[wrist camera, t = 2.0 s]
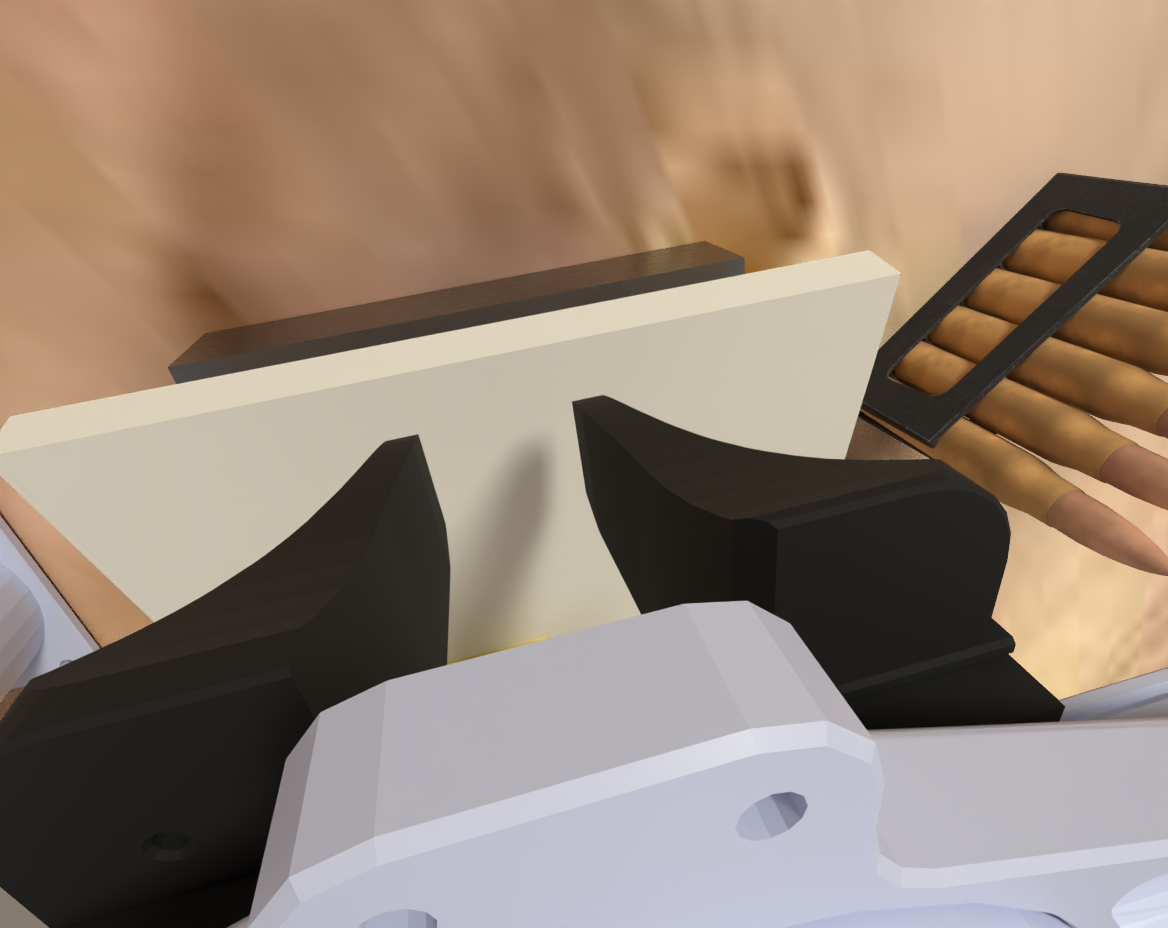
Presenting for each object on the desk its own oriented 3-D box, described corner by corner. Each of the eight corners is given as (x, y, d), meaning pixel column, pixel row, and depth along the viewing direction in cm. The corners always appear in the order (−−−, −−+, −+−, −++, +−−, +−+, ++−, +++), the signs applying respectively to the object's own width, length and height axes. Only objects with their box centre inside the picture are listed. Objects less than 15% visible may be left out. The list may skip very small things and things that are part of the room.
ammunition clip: (859, 417, 25) (1150, 616, 15) (835, 392, 24) (1126, 583, 14) (1077, 207, 23) (1603, 273, 13) (1059, 171, 22) (1608, 209, 12)
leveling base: (353, 656, 26) (337, 761, 21) (204, 333, 18) (137, 394, 14) (715, 565, 27) (766, 644, 23) (705, 241, 20) (775, 270, 16)
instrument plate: (322, 746, 23) (311, 911, 19) (10, 416, 12) (-160, 657, 8) (772, 625, 25) (840, 753, 21) (869, 250, 14) (1047, 380, 10)
